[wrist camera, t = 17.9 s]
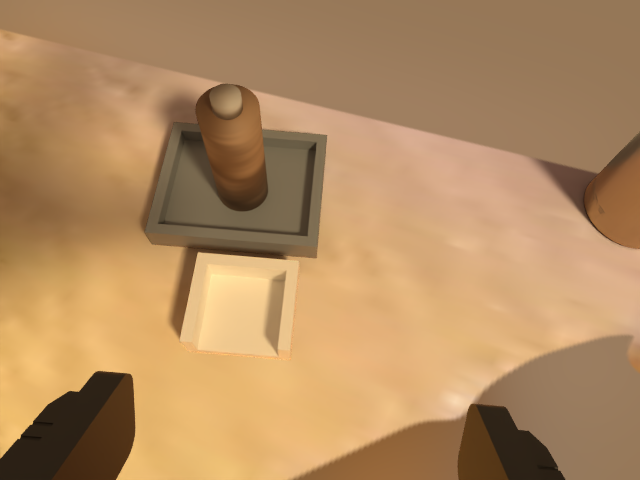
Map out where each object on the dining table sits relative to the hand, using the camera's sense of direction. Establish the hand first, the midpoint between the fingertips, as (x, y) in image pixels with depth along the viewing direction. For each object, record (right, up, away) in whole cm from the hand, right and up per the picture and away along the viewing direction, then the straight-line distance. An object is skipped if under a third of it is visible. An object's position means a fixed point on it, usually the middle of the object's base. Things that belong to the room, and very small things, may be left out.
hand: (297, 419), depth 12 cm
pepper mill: (-7, +9, +37) cm, 39 cm away
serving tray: (-7, +9, +38) cm, 40 cm away
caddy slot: (-6, -3, +33) cm, 33 cm away
